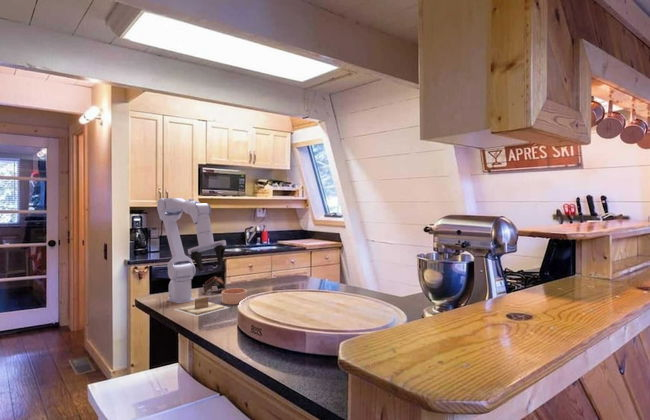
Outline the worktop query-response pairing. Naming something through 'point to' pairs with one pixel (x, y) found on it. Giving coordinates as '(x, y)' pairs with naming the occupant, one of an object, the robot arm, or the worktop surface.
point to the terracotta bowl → (233, 295)
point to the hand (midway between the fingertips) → (211, 268)
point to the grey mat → (200, 314)
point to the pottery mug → (214, 283)
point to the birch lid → (201, 306)
